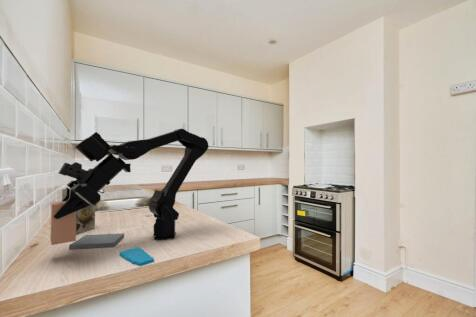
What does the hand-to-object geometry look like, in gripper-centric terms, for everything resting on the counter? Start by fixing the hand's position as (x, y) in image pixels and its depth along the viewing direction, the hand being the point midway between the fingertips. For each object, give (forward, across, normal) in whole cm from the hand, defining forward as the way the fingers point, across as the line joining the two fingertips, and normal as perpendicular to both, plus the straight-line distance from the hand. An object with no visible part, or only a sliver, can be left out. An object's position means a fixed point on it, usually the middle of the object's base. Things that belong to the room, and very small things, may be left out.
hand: (54, 216), depth 59 cm
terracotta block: (+3, 0, +6) cm, 7 cm away
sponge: (-3, +12, +20) cm, 24 cm away
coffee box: (+2, -28, +14) cm, 31 cm away
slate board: (0, -8, +16) cm, 18 cm away
